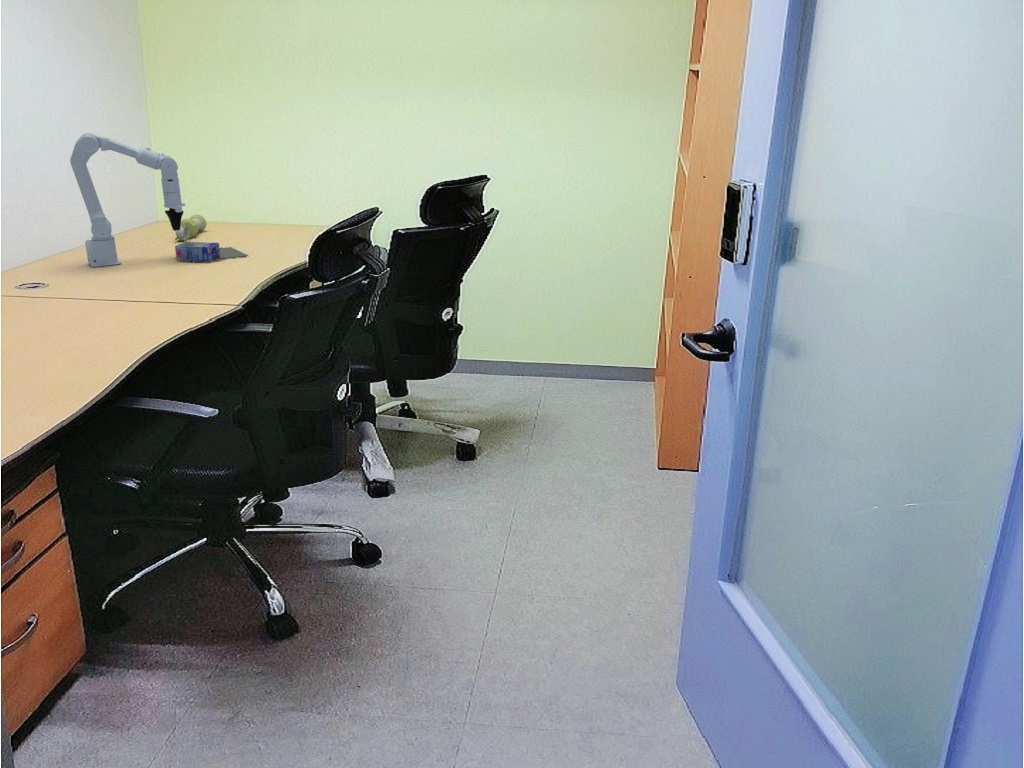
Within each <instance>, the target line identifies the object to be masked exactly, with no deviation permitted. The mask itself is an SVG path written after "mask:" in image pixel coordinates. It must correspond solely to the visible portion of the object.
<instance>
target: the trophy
mask: <svg viewBox="0 0 1024 768" xmlns="http://www.w3.org/2000/svg"><path fill="white" fill-rule="evenodd" d="M206 228H207V221H206V219H205V217H203V215H201V214H193V215H191V216H190V217H189V218H183V219H181V225H180V230H176V231H175V236H176V237H175V238H174V244H177V243H178V241H179V242H180V241H183V243H185V242H189V241H188V240H190V239H191V238H195V236H196V235H197V234H198V233H200V232H203V231H204V230H206ZM176 242H177V243H176Z"/></svg>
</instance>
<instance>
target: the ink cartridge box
mask: <svg viewBox="0 0 1024 768" xmlns="http://www.w3.org/2000/svg"><path fill="white" fill-rule="evenodd" d="M221 248H223V247H220V243H219V242H203V241H187V242H185V243H184V242H183V243H181V244H178V245H174V249H175V260H176V261H179V262H181V261H183V262H191V261H205V262H211V260H213V259H215V258H217V257H219V256H220V250H219V249H221Z"/></svg>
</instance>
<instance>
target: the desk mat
mask: <svg viewBox="0 0 1024 768" xmlns="http://www.w3.org/2000/svg"><path fill="white" fill-rule="evenodd" d="M220 248H221V247H220ZM219 250H220V256H219V257H217V258H215V259H213V260H214V261H218V260H217V259H223V260H228V259H227V258H232V259H237V258H236V257H241V258H247V257H246V256H248V257H249V254H247V253H244V252H242V251H240V250H237V248H233V247H232V246H228V247H222V248H221V249H219ZM193 262H196V263H201V262H200V261H192V262H191V263H193Z"/></svg>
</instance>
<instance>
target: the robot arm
mask: <svg viewBox="0 0 1024 768" xmlns="http://www.w3.org/2000/svg"><path fill="white" fill-rule="evenodd" d="M76 140H77V141H76V142H75V144H74V146H73V150H72V153H71V156H70V158H69V161H70V165H71V169H72V172H73V173H74V177H75V180H76V182H77V186H78V188H79V191H80V194H81V196H82V198H83V202H84V204H85V207H86V210H87V212H88V216H89V220H90V223H91V227H90V228H91V229H90V232H91V234H92V236H91V239H88V240H85V252H86V257H87V264H88V265H90V266H91V267H92V268H96V267H105V266H114V265H122V262H121V261H120V260H119V259H118V253H117V247H116V246H117V245H116V240H115V236H114V235H112V224H111V222H110V221H109V219H107V217H106V216H105V215H106V214H105V213H104V211H103V208H102V205H101V202H100V200H99V197H98V194H97V191H96V189H95V186H94V182H93V180H92V177H91V174H90V171H89V168H88V166H87V163H88V162H89V160H90V158H91V157H92V156H93V155H95V154H96V153H97V152H98V151H99V149H100V151H101V152H106V151H112V152H115V153H118V154H122V155H124V156H127V157H130V158H134V159H135V161H136V162H137V164H139V165H142V166H145V167H147V168H151V169H153V170H155V171H156V170H160V172H161V173H160V175H161V187H162V189H161V190H162V196H163V203H164V204H163V206H164V208H166V209H168V210H164V213H165V215H166V216H167V218H168V220H169V222H170V226H171V229H172V230H173V231H176V230H180V225H181V221H182V217H183V215H184V210H183V207H185V206H186V203H185V202H184V203H182V195H181V188H180V187H181V186H180V179H179V177H178V176H179V175H178V169H179V165H178V164H177V161H176V160H175V159H174V158H172V157H171V156H169V155H165V153H163V152H161V153H159V152H156V151H153V150H151V148H150V147H140V148H135V147H132V146H130V145H127V144H125V143H123V142H120V141H117V140H115V139H112V138H109V137H105V136H101V135H95V134H94V133H90V132H87V133H84V134H82V135H81V136H80V137H79V138H78V139H76Z"/></svg>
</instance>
